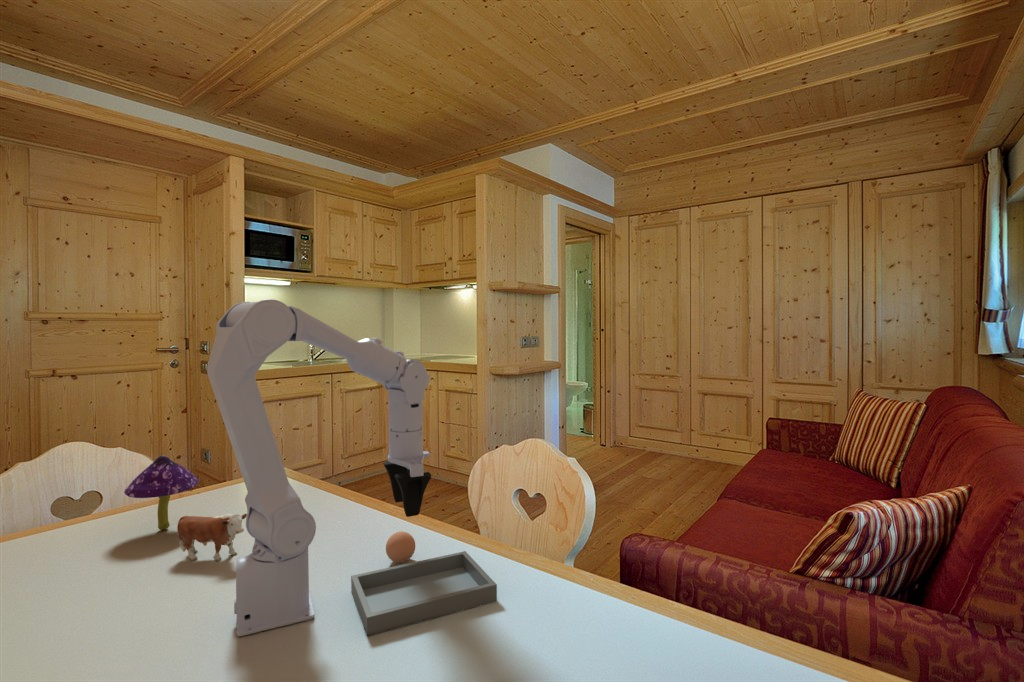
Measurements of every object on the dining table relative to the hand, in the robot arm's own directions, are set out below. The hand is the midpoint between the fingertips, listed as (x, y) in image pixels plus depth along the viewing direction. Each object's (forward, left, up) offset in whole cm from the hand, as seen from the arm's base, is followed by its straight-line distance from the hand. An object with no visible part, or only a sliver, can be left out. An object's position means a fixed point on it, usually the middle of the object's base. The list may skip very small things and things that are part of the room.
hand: (406, 508), depth 87 cm
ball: (-1, +1, -7) cm, 7 cm away
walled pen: (-1, -12, -9) cm, 15 cm away
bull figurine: (-30, +18, -10) cm, 36 cm away
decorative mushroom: (-40, +37, -10) cm, 55 cm away
